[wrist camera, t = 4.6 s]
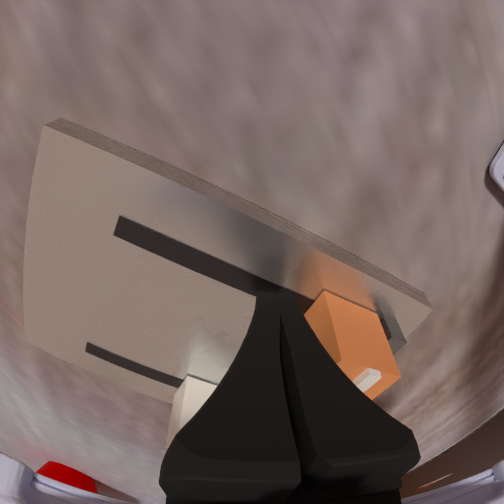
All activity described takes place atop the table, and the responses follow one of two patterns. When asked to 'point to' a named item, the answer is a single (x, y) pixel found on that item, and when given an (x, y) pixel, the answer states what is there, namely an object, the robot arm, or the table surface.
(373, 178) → the table surface
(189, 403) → the fader white
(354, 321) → the fader orange
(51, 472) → the potted flower
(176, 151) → the table surface
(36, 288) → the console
